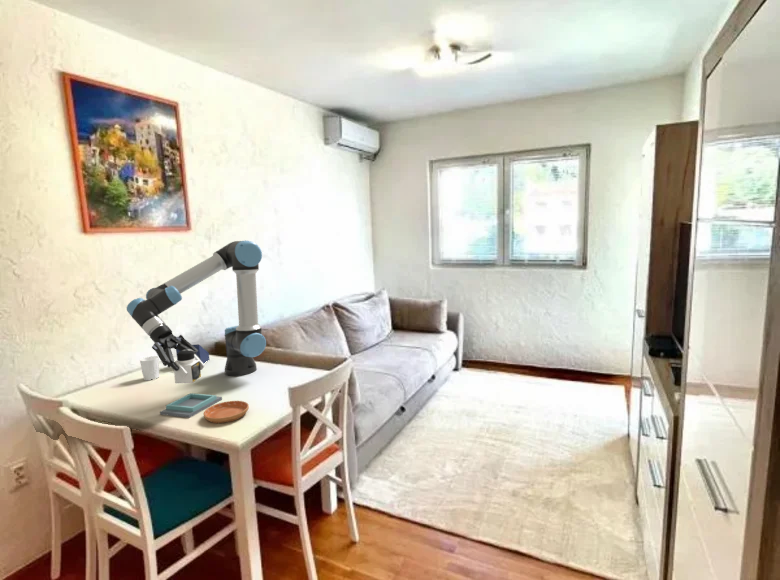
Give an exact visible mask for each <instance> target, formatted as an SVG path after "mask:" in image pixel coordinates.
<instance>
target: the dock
mask: <svg viewBox="0 0 780 580" xmlns="http://www.w3.org/2000/svg"><path fill="white" fill-rule="evenodd" d="M222 400H223V396H217V395H215V394H214V395H213V394H203V393H193V392H192V393H188V394H186V395H184V396H182V397H180V398H178V399H176V400H175V401H172V402H170V403H168V404H166V405H165V408H164V409H163V410H160V411H159V413H160V415H161V416H162V415H163V416H170V417H171V416H172V417H180V418H181V417H182V418H192V417H194V416H195V415H197V414H199V413H200V412H202V411H203V412H204V411H205V410H206V409H207V408H209V407H211V406H213V405H216V404H218V402H219V403H220V402H221V401H222Z"/></svg>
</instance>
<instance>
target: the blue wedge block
mask: <svg viewBox="0 0 780 580" xmlns="http://www.w3.org/2000/svg"><path fill="white" fill-rule="evenodd" d="M177 345H178V344H177ZM177 345H176V346H177ZM192 345H193V346H194V347H195V348H196V349H197V350H198V352H197V353H196V355H197V356H198V357H199V358H200V359H201V361H202V362H203V363H205V362H206V361H207V362H208V360H209V361H210V353H209V352H208V351H207V350H206V349H205V348H204V347H203V346H202V345H200V344H192ZM175 351H176V353H175V354H177V353H178V352H180V350H178V349H175ZM176 359H177V360H176V361H178V358H177V357H176ZM207 362H206V363H207ZM206 363H205V364H206Z"/></svg>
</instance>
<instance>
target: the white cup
mask: <svg viewBox="0 0 780 580" xmlns="http://www.w3.org/2000/svg"><path fill="white" fill-rule="evenodd" d="M159 360H160V359H159V356H158V355H157V356H155V355H154V356H147V357H143V358H140V359H139V363H140V369H141V373H142V376H143V377H142V378H143V380H144V381H152V380H151V379H154V380H156V379H155V378H157V379H159V378H160V362H159ZM158 377H159V378H158Z"/></svg>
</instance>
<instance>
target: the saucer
mask: <svg viewBox="0 0 780 580" xmlns="http://www.w3.org/2000/svg"><path fill="white" fill-rule="evenodd" d="M248 410H249V404H248V402H246V401H243V400H228V401H224V402H219V403H215V404H213V405H212V406H210V407H208V408H206V409H204V410H203V413H202V414H203V417H204V419H205V420H207V421H208V422H210V423H213V424H226V423H231V422H234V421H237V420H239V419H241V418H243V416H245V414H246V413H248Z"/></svg>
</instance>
